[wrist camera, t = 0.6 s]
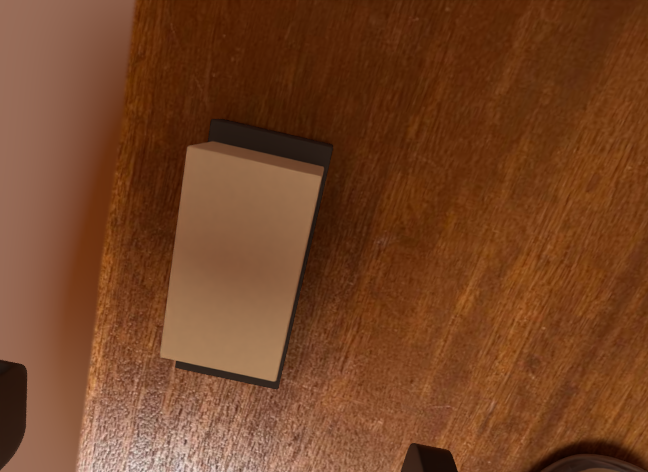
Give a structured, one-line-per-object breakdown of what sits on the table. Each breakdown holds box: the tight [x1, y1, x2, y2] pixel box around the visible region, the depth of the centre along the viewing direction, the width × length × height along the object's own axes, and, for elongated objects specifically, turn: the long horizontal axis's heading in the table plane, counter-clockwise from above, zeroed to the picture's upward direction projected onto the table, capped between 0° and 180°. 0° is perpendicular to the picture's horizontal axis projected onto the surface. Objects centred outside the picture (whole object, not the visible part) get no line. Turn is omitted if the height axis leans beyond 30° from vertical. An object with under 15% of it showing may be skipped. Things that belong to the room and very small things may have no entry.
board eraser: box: [160, 119, 333, 389], centre depth 21 cm, size 14×6×6 cm, turn 167°
